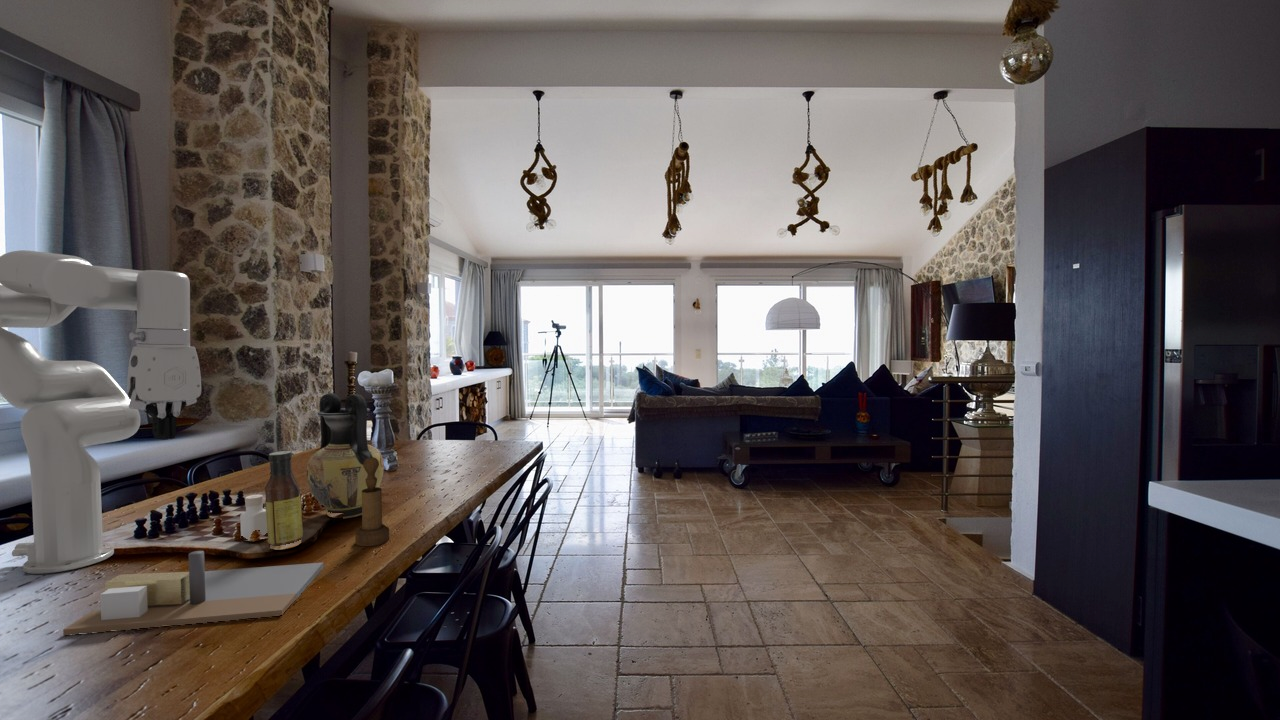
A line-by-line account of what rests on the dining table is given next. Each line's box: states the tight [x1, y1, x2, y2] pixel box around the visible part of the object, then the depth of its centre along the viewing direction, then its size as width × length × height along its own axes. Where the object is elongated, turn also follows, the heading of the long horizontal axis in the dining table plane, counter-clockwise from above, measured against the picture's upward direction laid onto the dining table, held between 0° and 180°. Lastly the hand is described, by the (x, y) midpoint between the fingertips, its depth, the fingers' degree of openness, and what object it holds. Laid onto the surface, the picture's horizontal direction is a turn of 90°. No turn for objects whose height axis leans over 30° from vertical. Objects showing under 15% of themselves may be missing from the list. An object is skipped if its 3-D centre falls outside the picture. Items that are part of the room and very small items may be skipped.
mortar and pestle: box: [354, 457, 390, 547], centre depth 123 cm, size 7×6×18 cm
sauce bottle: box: [264, 450, 304, 546], centre depth 120 cm, size 7×6×20 cm
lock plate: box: [62, 550, 325, 635], centre depth 97 cm, size 29×20×9 cm
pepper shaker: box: [239, 494, 267, 540], centre depth 124 cm, size 4×4×10 cm
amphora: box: [306, 392, 385, 519], centre depth 142 cm, size 18×17×30 cm
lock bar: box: [104, 571, 190, 605], centre depth 92 cm, size 11×3×4 cm, turn 96°
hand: (164, 438), depth 106 cm, fingers closed
